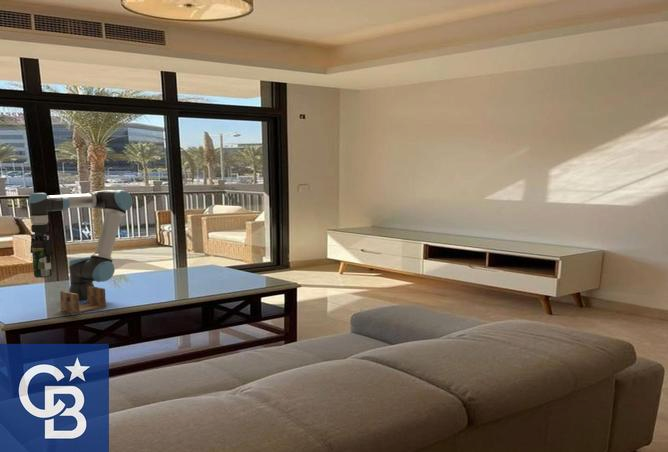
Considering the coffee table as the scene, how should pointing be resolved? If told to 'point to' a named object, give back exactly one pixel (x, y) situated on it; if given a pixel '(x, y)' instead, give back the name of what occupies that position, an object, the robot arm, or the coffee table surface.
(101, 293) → the holder
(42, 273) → the coffee jar
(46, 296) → the coffee table surface
